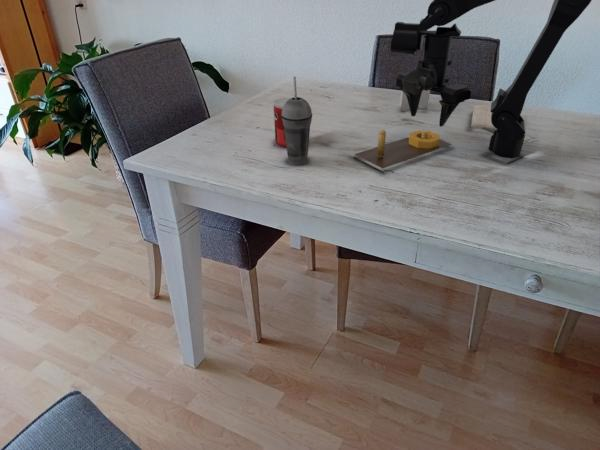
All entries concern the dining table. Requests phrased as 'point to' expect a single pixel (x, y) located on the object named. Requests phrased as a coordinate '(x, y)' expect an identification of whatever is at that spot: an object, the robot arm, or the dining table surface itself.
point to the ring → (424, 143)
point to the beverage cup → (297, 128)
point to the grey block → (422, 104)
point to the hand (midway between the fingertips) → (426, 121)
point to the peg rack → (394, 151)
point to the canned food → (279, 121)
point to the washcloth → (482, 118)
